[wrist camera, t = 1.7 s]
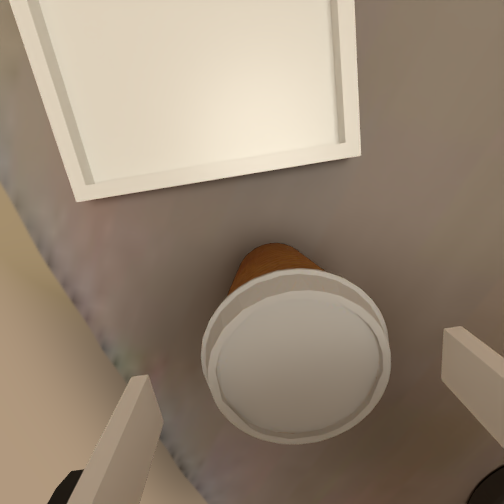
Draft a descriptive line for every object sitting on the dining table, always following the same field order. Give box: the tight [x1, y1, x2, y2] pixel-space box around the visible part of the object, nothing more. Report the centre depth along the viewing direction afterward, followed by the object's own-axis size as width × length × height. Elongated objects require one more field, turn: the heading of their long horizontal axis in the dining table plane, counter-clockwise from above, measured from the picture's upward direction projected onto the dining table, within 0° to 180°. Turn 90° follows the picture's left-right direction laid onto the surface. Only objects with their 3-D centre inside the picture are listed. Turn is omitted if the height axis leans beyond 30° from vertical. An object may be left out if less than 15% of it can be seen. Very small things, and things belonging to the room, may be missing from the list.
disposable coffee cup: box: [201, 243, 391, 444], centre depth 19 cm, size 10×10×12 cm
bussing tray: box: [9, 0, 361, 202], centre depth 18 cm, size 20×20×2 cm
